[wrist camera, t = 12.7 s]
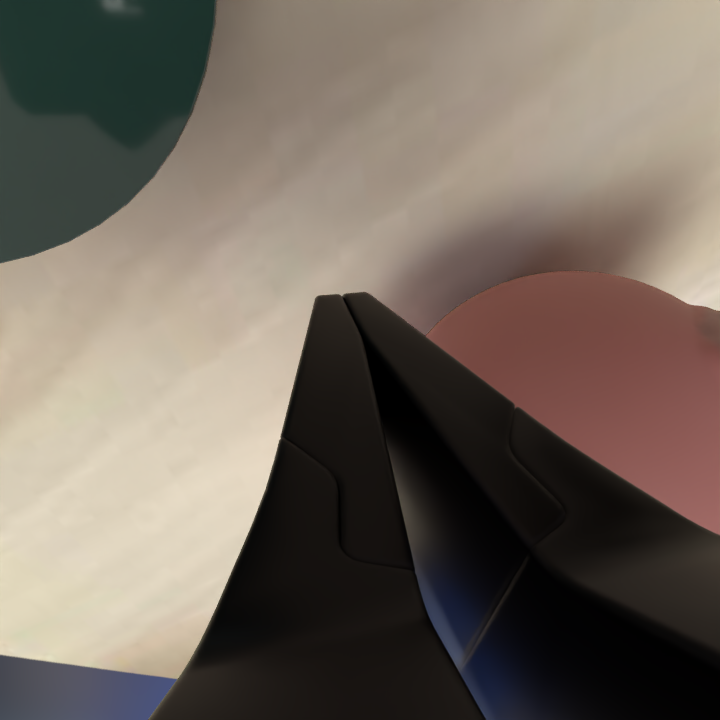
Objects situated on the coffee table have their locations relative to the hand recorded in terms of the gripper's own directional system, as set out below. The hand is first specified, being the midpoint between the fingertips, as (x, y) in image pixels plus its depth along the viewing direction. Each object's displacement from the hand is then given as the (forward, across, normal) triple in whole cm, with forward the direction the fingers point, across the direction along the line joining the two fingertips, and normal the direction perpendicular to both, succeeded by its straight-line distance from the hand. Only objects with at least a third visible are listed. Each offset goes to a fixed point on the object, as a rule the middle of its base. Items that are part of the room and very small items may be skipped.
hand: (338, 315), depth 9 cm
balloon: (+13, -13, +11) cm, 22 cm away
